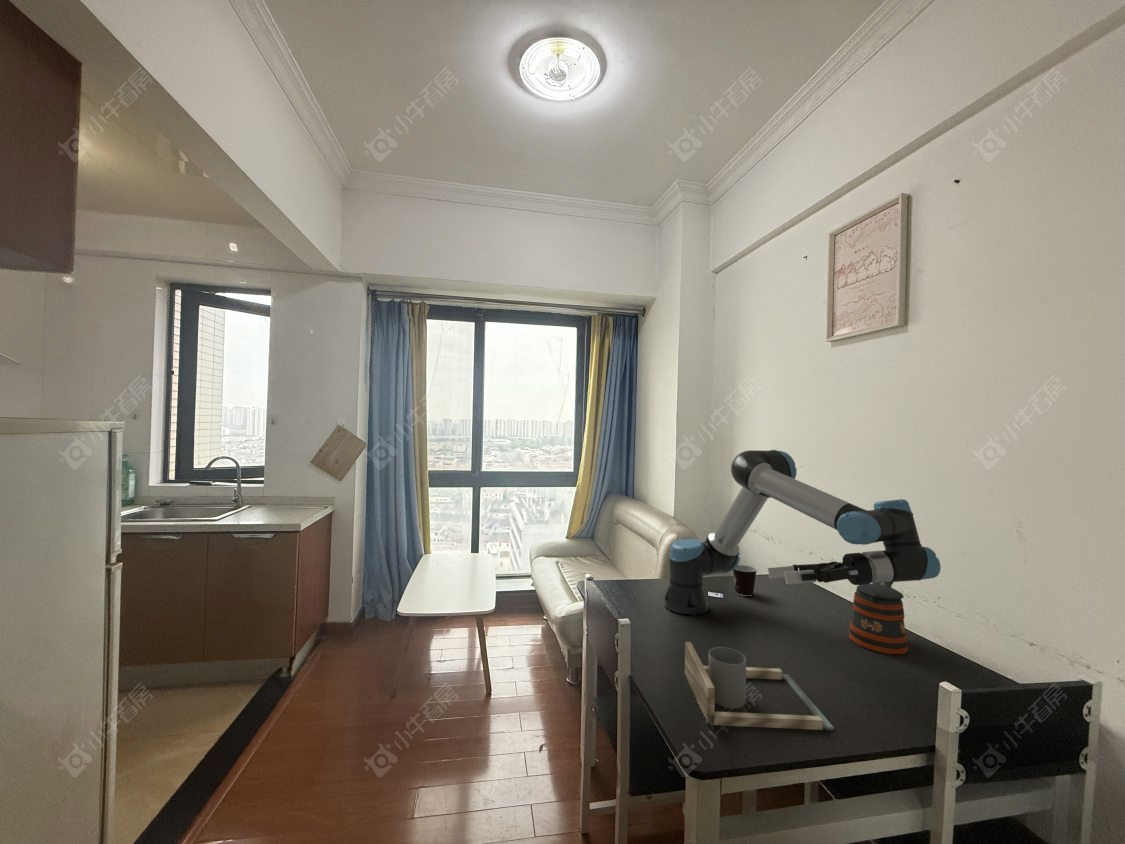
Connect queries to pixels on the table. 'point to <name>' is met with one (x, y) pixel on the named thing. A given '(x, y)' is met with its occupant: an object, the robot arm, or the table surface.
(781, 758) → the table surface
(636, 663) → the table surface
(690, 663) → the bay
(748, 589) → the coffee mug
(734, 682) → the cup
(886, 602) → the beer stein
